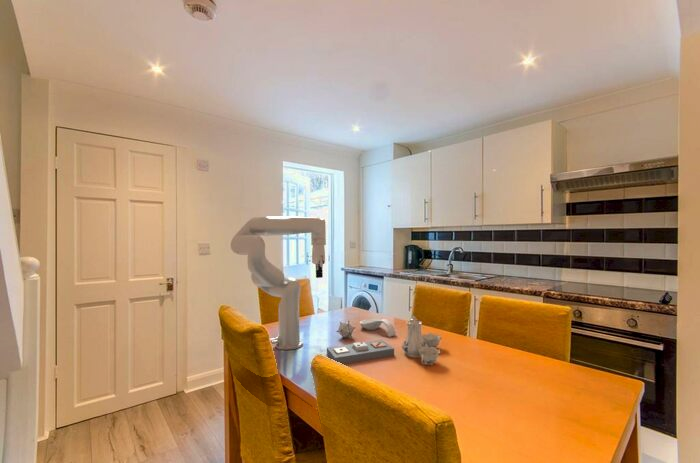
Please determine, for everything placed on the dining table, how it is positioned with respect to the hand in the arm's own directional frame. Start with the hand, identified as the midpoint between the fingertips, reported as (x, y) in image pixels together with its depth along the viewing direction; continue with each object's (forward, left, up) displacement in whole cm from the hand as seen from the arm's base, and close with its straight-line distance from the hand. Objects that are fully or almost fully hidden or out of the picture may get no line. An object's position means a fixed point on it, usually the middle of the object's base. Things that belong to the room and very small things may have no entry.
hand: (319, 277), depth 168 cm
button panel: (+8, -36, -29) cm, 47 cm away
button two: (+8, -36, -27) cm, 46 cm away
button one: (0, -36, -28) cm, 46 cm away
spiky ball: (+10, -12, -29) cm, 33 cm away
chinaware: (+32, -45, -30) cm, 63 cm away
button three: (+17, -36, -28) cm, 48 cm away
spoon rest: (+29, -8, -30) cm, 42 cm away
